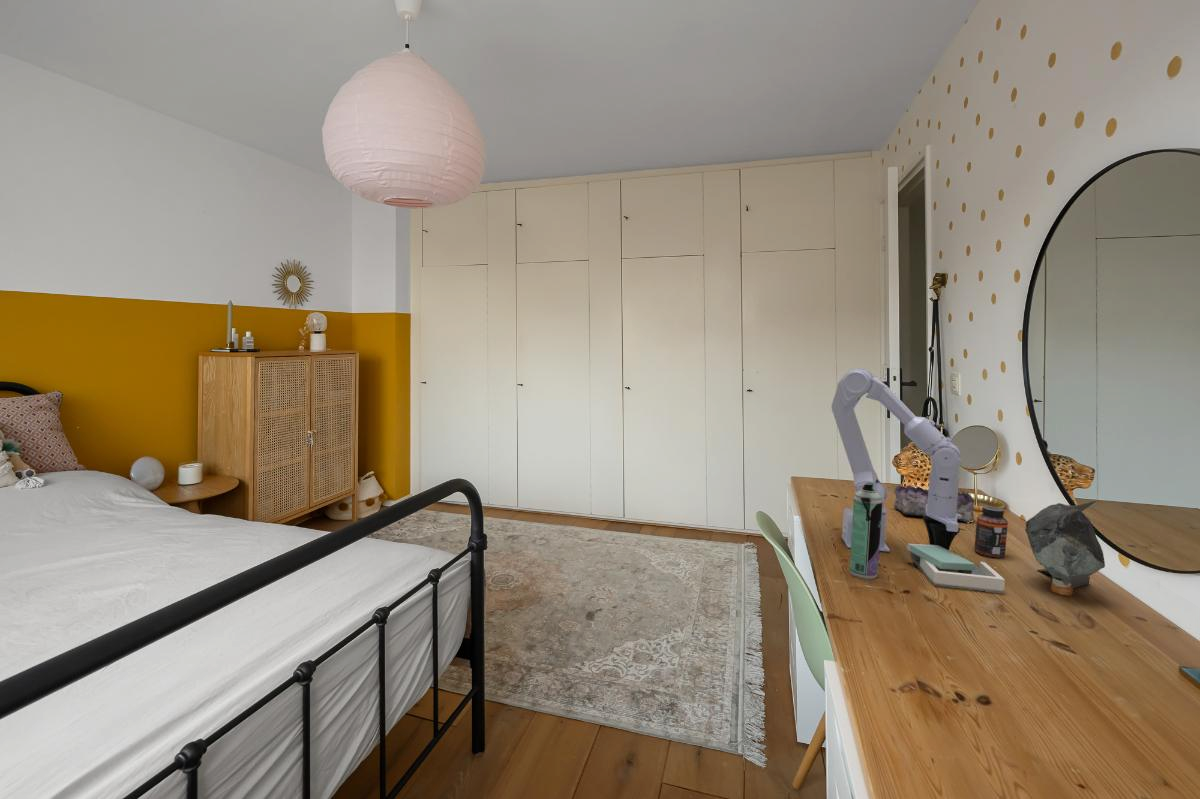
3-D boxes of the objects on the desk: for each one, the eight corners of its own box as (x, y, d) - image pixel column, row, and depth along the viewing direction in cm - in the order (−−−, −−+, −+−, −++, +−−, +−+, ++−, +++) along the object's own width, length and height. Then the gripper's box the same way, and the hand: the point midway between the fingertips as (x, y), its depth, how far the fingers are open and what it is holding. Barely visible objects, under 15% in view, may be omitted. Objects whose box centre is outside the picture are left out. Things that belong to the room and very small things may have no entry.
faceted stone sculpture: (998, 578, 112) (1006, 496, 110) (1044, 568, 118) (1051, 490, 116) (1079, 609, 99) (1088, 517, 97) (1126, 597, 104) (1136, 509, 103)
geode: (968, 515, 156) (974, 484, 154) (976, 532, 146) (982, 499, 144) (891, 503, 165) (895, 473, 162) (893, 519, 155) (898, 487, 152)
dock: (933, 586, 108) (934, 572, 108) (911, 559, 122) (912, 546, 122) (1003, 594, 105) (1004, 579, 105) (972, 565, 119) (973, 552, 119)
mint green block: (938, 577, 109) (941, 562, 109) (904, 556, 120) (906, 543, 120) (973, 578, 110) (976, 564, 110) (937, 558, 121) (939, 545, 120)
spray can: (881, 580, 111) (887, 487, 109) (853, 577, 112) (858, 486, 110) (873, 569, 116) (878, 481, 114) (846, 567, 117) (851, 479, 115)
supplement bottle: (1005, 561, 122) (1009, 513, 121) (973, 554, 125) (977, 508, 124) (1004, 553, 126) (1008, 507, 125) (974, 547, 130) (978, 503, 129)
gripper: (976, 505, 113) (971, 565, 115) (950, 488, 127) (946, 542, 129) (939, 502, 115) (934, 561, 117) (917, 485, 129) (914, 539, 131)
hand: (938, 551), depth 123 cm, fingers open, 3 cm apart
